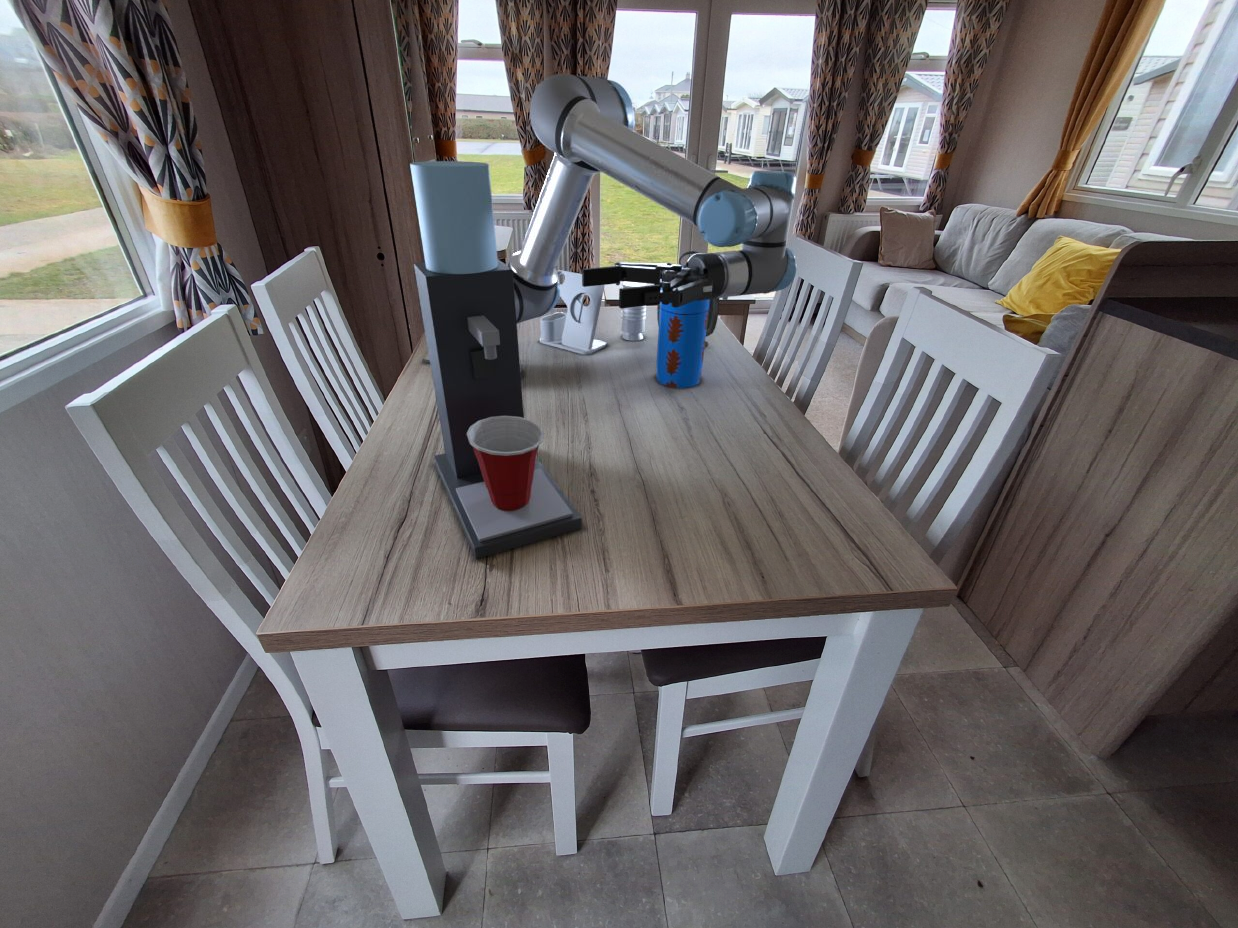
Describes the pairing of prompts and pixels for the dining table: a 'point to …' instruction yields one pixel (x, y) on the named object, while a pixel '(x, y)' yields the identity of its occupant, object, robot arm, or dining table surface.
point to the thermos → (681, 343)
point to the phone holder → (574, 317)
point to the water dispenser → (475, 352)
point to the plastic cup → (506, 458)
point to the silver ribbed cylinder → (633, 317)
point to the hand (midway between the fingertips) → (600, 287)
